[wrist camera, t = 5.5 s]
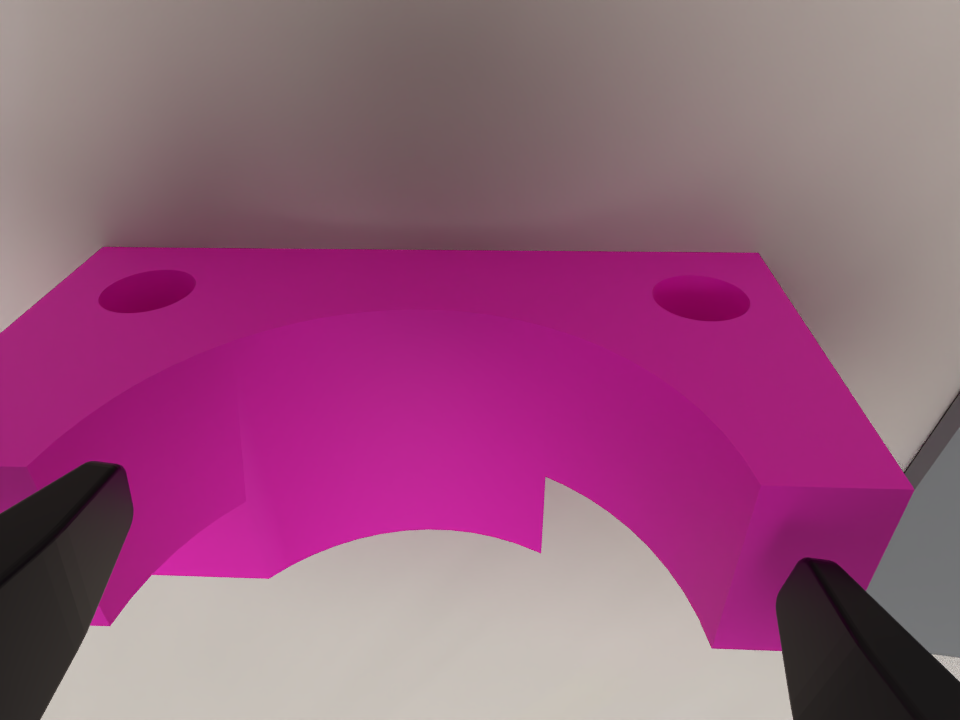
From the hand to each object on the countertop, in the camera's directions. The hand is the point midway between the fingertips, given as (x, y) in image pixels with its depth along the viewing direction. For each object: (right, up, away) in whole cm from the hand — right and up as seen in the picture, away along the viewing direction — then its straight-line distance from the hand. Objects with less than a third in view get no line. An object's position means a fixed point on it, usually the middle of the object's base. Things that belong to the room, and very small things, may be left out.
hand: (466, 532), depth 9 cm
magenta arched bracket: (-1, +2, +9) cm, 9 cm away
